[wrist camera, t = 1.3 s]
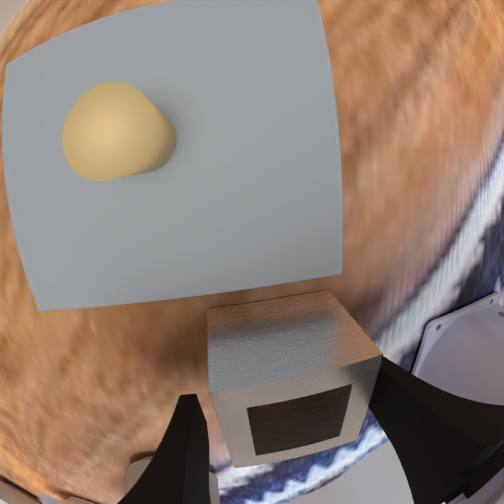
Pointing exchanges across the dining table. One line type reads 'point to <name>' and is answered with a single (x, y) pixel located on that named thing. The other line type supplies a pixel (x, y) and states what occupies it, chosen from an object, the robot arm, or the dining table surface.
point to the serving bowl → (15, 495)
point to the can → (139, 466)
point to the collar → (288, 376)
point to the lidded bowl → (74, 501)
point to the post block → (175, 154)
